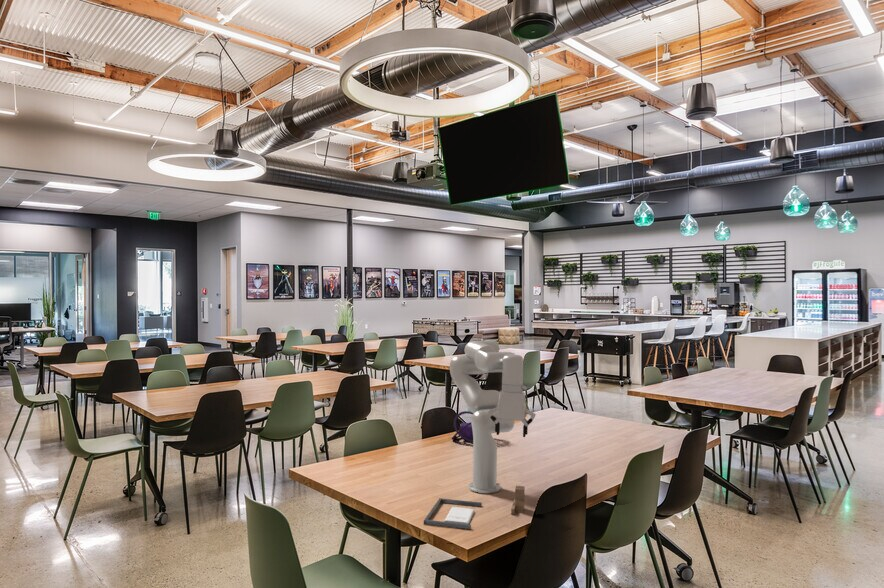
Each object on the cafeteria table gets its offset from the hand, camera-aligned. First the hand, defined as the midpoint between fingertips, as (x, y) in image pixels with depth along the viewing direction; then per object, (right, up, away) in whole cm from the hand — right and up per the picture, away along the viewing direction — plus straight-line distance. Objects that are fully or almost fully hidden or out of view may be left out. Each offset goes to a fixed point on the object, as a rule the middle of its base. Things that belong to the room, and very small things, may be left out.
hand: (511, 435), depth 198 cm
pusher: (+3, -26, -2) cm, 27 cm away
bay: (-21, -26, -8) cm, 34 cm away
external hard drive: (-19, -27, -10) cm, 34 cm away
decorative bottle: (-10, -29, +97) cm, 102 cm away
